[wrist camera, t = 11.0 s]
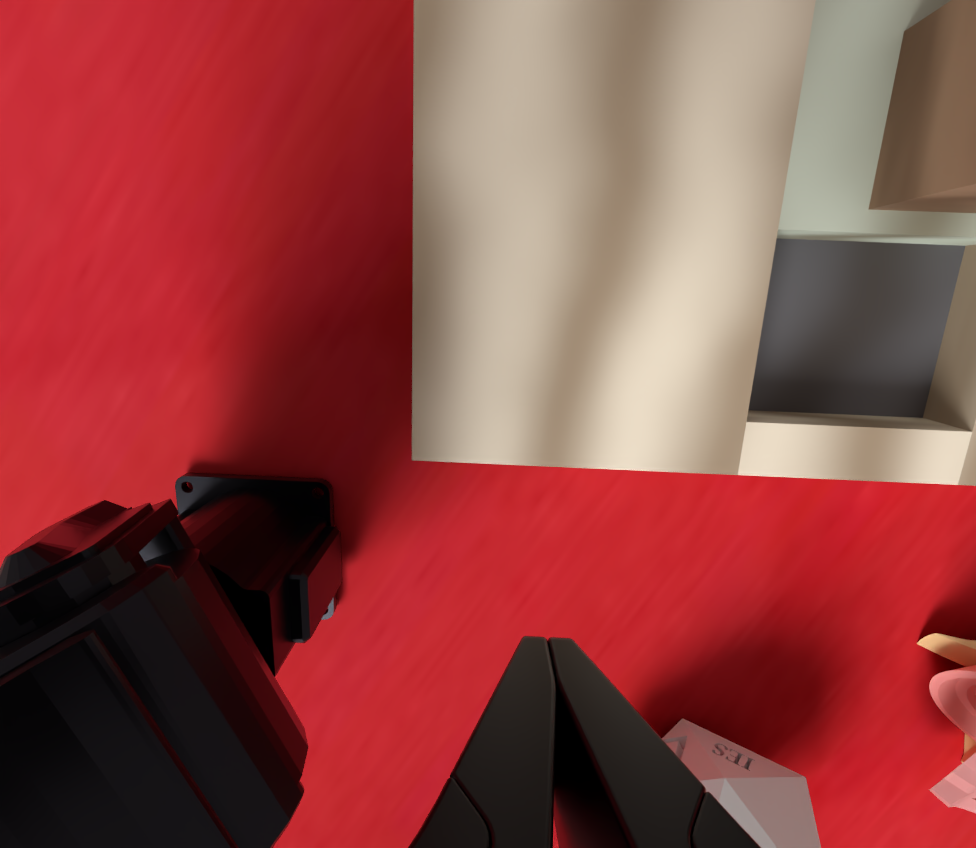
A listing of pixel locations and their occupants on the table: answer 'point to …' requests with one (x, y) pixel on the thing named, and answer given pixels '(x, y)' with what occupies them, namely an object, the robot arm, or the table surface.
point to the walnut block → (932, 118)
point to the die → (749, 787)
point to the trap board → (680, 245)
